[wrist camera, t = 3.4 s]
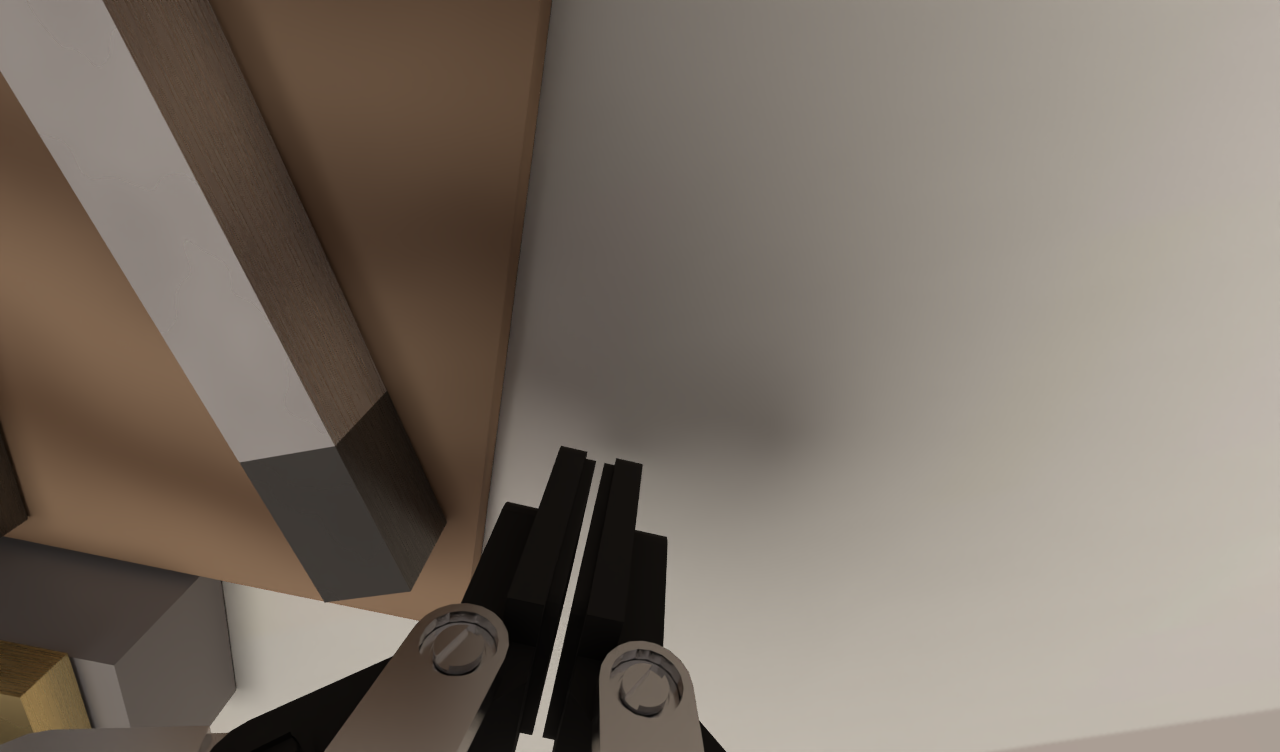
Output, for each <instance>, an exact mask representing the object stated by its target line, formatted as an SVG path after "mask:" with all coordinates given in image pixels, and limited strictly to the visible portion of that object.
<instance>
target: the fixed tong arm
mask: <svg viewBox="0 0 1280 752" xmlns="http://www.w3.org/2000/svg"><path fill="white" fill-rule="evenodd" d="M26 520H28V518H27V514H26V511H25V508H24V505H23V502H22V499H21V495H20V492H19V489H18V486H17V483H16V480H15V476H14V473H13V470H12V467H11V464H10V461H9V457H8V454H7V451H6V448H5V445H4V442H3V438H2V435H1V432H0V538H1V537H3V536H4V535H6V534H7V533H9V532H10V531H12V530H13V529H15V528H16V527H17V526H19V525H20V524H22V523H23V522H25V521H26Z"/></svg>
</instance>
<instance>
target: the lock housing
mask: <svg viewBox="0 0 1280 752" xmlns="http://www.w3.org/2000/svg"><path fill="white" fill-rule="evenodd" d="M0 640H4V641H9V642H14V643H19V644H24V645H29V646H34V647H39V648H44V649H49V650H55V651H60V652H65V653H68V656H69V659H70V662H71V665H72V668H73V672H74V675H75V678H76V681H77V684H78V687H79V690H80V694H81V697H82V700H83V703H84V706H85V709H86V712H87V716H88V719H89V722H90V725H91V728H92V729H95V728H134V727H173V726H210V725H211V724H212V723H213V721H214V720H215V718H216V717H217V716H218V714H219V713H220V712H221V710H222V709H223V707H224V706H225V705H226V703H227V702H228V701H229V699H230V698H231V696H232V695H233V694H234V692H235V691H236V687H235V679H234V672H233V665H232V657H231V650H230V643H229V635H228V628H227V621H226V613H225V606H224V599H223V592H222V584H221V580H216V579H212V578H207V577H202V576H197V575H192V574H187V573H182V572H177V571H172V570H167V569H162V568H157V567H152V566H148V565H143V564H138V563H133V562H128V561H123V560H118V559H113V558H108V557H103V556H98V555H93V554H89V553H84V552H79V551H74V550H69V549H64V548H59V547H54V546H49V545H44V544H39V543H34V542H29V541H25V540H20V539H15V538H10V537H5V536H3V537H1V538H0Z"/></svg>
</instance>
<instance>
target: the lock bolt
mask: <svg viewBox="0 0 1280 752" xmlns="http://www.w3.org/2000/svg"><path fill="white" fill-rule="evenodd" d="M56 729H92V728H91V725H90V722H89V719H88V716H87V712H86V709H85V706H84V703H83V700H82V697H81V694H80V690H79V687H78V684H77V681H76V678H75V675H74V672H73V668H72V665H71V662H70V659H69V656H68V653H65V652H60V651H55V650H49V649H44V648H39V647H34V646H29V645H24V644H19V643H14V642H9V641H4V640H0V745H1V744H4V743H6V742H9V741H11V740H13V739H16V738H18V737H21V736H23V735H26V734H29V733H35V732H41V731H47V730H56Z"/></svg>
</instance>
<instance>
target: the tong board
mask: <svg viewBox="0 0 1280 752" xmlns="http://www.w3.org/2000/svg"><path fill="white" fill-rule="evenodd" d="M209 1H210V3H211V5H212V8H213V10H214V12H215V14H216V16H217V19H218V21H219V23H220V25H221V27H222V30H223V32H224V34H225V36H226V38H227V41H228V43H229V45H230V47H231V49H232V52H233V54H234V56H235V58H236V60H237V62H238V65H239V67H240V69H241V71H242V73H243V76H244V78H245V80H246V82H247V84H248V87H249V89H250V91H251V93H252V95H253V98H254V100H255V102H256V104H257V106H258V108H259V111H260V113H261V115H262V117H263V119H264V122H265V124H266V126H267V128H268V130H269V133H270V135H271V137H272V139H273V141H274V144H275V146H276V148H277V150H278V152H279V155H280V157H281V159H282V161H283V163H284V165H285V168H286V170H287V172H288V174H289V176H290V179H291V181H292V183H293V185H294V187H295V190H296V192H297V194H298V196H299V198H300V201H301V203H302V205H303V207H304V209H305V212H306V214H307V216H308V218H309V220H310V222H311V225H312V227H313V229H314V231H315V233H316V236H317V238H318V240H319V242H320V244H321V247H322V249H323V251H324V253H325V255H326V258H327V260H328V262H329V264H330V266H331V269H332V271H333V273H334V275H335V277H336V279H337V282H338V284H339V286H340V288H341V290H342V293H343V295H344V297H345V299H346V301H347V304H348V306H349V308H350V310H351V312H352V315H353V317H354V319H355V321H356V323H357V326H358V328H359V330H360V332H361V334H362V336H363V339H364V341H365V343H366V345H367V347H368V350H369V352H370V354H371V356H372V358H373V361H374V363H375V365H376V367H377V369H378V372H379V374H380V376H381V378H382V380H383V382H384V385H385V387H386V389H387V391H388V393H389V396H390V398H391V400H392V402H393V404H394V407H395V409H396V411H397V413H398V415H399V418H400V420H401V422H402V424H403V426H404V429H405V431H406V433H407V435H408V437H409V439H410V442H411V444H412V446H413V448H414V450H415V453H416V455H417V457H418V459H419V461H420V464H421V466H422V468H423V470H424V472H425V475H426V477H427V479H428V481H429V483H430V486H431V488H432V490H433V492H434V494H435V496H436V499H437V501H438V503H439V505H440V507H441V510H442V512H443V514H444V516H445V518H446V521H447V524H446V526H445V527H444V529H443V531H442V533H441V535H440V537H439V539H438V541H437V543H436V545H435V546H434V548H433V550H432V552H431V554H430V556H429V558H428V560H427V562H426V563H425V565H424V567H423V569H422V571H421V573H420V575H419V577H418V579H417V581H416V582H415V584H414V586H413V588H412V590H411V592H403V593H395V594H388V595H380V596H372V597H364V598H356V599H348V600H340V601H332V602H330V603H334V604H339V605H344V606H349V607H354V608H359V609H364V610H369V611H374V612H379V613H384V614H389V615H394V616H398V617H403V618H408V619H413V620H418V621H420V620H421V619H422V618H423V617H424V616H425V615H427V614H429V613H430V612H432V611H434V610H435V609H437V608H440V607H443V606H447V605H450V604H461V601H462V599H463V597H464V595H465V592H466V590H467V588H468V586H469V583H470V581H471V579H472V577H473V574H474V572H475V570H476V567H477V565H478V563H479V561H480V558H481V552H482V544H483V537H484V529H485V521H486V513H487V505H488V498H489V490H490V482H491V474H492V466H493V458H494V451H495V443H496V435H497V427H498V419H499V411H500V404H501V396H502V388H503V380H504V372H505V365H506V357H507V349H508V341H509V333H510V325H511V318H512V310H513V302H514V294H515V286H516V278H517V271H518V263H519V255H520V247H521V239H522V231H523V224H524V216H525V208H526V200H527V192H528V185H529V177H530V169H531V161H532V153H533V145H534V138H535V130H536V122H537V114H538V106H539V98H540V91H541V83H542V75H543V67H544V59H545V52H546V44H547V36H548V28H549V20H550V12H551V5H552V0H209ZM0 432H1V435H2V438H3V442H4V445H5V448H6V451H7V454H8V457H9V461H10V464H11V467H12V470H13V473H14V476H15V480H16V483H17V486H18V489H19V492H20V495H21V499H22V502H23V505H24V508H25V511H26V514H27V518H28V520H26V521H25V522H23V523H22V524H20V525H19V526H17V527H16V528H15V529H13V530H12V531H10V532H9V533H7V534H6V535H4V536H5V537H10V538H15V539H20V540H25V541H29V542H34V543H39V544H44V545H49V546H54V547H59V548H64V549H69V550H74V551H79V552H84V553H89V554H93V555H98V556H103V557H108V558H113V559H118V560H123V561H128V562H133V563H138V564H143V565H148V566H152V567H157V568H162V569H167V570H172V571H177V572H182V573H187V574H192V575H197V576H202V577H207V578H212V579H216V580H221V581H226V582H231V583H236V584H241V585H246V586H251V587H256V588H261V589H266V590H271V591H275V592H280V593H285V594H290V595H295V596H300V597H305V598H310V599H315V600H320V601H323V599H322V597H321V596H320V594H319V592H318V591H317V589H316V587H315V586H314V584H313V583H312V581H311V579H310V578H309V576H308V574H307V573H306V571H305V569H304V568H303V566H302V565H301V563H300V561H299V560H298V558H297V556H296V555H295V553H294V551H293V550H292V548H291V546H290V545H289V543H288V542H287V540H286V538H285V537H284V535H283V533H282V532H281V530H280V528H279V527H278V525H277V524H276V522H275V520H274V519H273V517H272V515H271V514H270V512H269V510H268V509H267V507H266V505H265V504H264V502H263V501H262V499H261V497H260V496H259V494H258V492H257V491H256V489H255V487H254V486H253V484H252V483H251V481H250V479H249V478H248V476H247V474H246V473H245V471H244V469H243V468H242V466H241V465H240V463H239V461H238V460H237V458H236V456H235V455H234V453H233V451H232V450H231V448H230V446H229V445H228V443H227V442H226V440H225V438H224V437H223V435H222V433H221V432H220V430H219V428H218V427H217V425H216V424H215V422H214V420H213V419H212V417H211V415H210V414H209V412H208V410H207V409H206V407H205V406H204V404H203V402H202V401H201V399H200V397H199V396H198V394H197V392H196V391H195V389H194V387H193V386H192V384H191V383H190V381H189V379H188V378H187V376H186V374H185V373H184V371H183V369H182V368H181V366H180V365H179V363H178V361H177V360H176V358H175V356H174V355H173V353H172V351H171V350H170V348H169V347H168V345H167V343H166V342H165V340H164V338H163V337H162V335H161V333H160V332H159V330H158V328H157V327H156V325H155V324H154V322H153V320H152V319H151V317H150V315H149V314H148V312H147V310H146V309H145V307H144V306H143V304H142V302H141V301H140V299H139V297H138V296H137V294H136V292H135V291H134V289H133V288H132V286H131V284H130V283H129V281H128V279H127V278H126V276H125V274H124V273H123V271H122V269H121V268H120V266H119V265H118V263H117V261H116V260H115V258H114V256H113V255H112V253H111V251H110V250H109V248H108V247H107V245H106V243H105V242H104V240H103V238H102V237H101V235H100V233H99V232H98V230H97V228H96V227H95V225H94V224H93V222H92V220H91V219H90V217H89V215H88V214H87V212H86V210H85V209H84V207H83V206H82V204H81V202H80V201H79V199H78V197H77V196H76V194H75V192H74V191H73V189H72V188H71V186H70V184H69V183H68V181H67V179H66V178H65V176H64V174H63V173H62V171H61V169H60V168H59V166H58V165H57V163H56V161H55V160H54V158H53V156H52V155H51V153H50V151H49V150H48V148H47V147H46V145H45V143H44V142H43V140H42V138H41V137H40V135H39V133H38V132H37V130H36V129H35V127H34V125H33V124H32V122H31V120H30V119H29V117H28V115H27V114H26V112H25V110H24V109H23V107H22V106H21V104H20V102H19V101H18V99H17V97H16V96H15V94H14V92H13V91H12V89H11V88H10V86H9V84H8V83H7V81H6V79H5V78H4V76H3V74H2V73H1V71H0Z"/></svg>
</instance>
